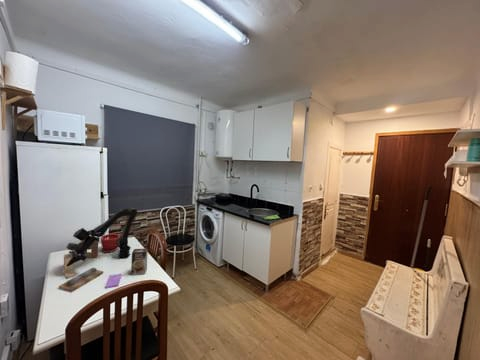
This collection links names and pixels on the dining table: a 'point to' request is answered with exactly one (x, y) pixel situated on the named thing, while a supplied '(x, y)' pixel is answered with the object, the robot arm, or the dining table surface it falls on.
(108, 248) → the plant pot
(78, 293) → the dining table surface
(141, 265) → the coffee box
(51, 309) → the dining table surface
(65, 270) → the oak T piece
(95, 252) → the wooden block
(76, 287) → the stand
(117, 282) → the sponges
